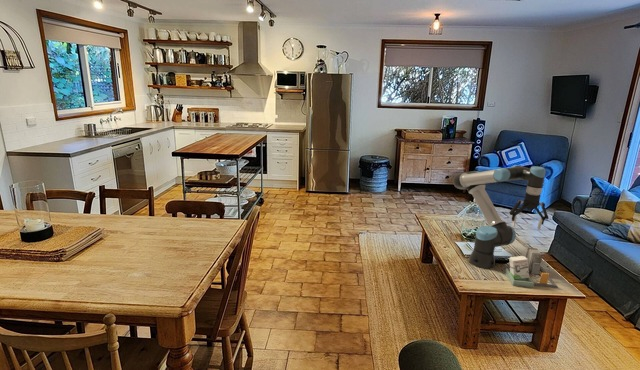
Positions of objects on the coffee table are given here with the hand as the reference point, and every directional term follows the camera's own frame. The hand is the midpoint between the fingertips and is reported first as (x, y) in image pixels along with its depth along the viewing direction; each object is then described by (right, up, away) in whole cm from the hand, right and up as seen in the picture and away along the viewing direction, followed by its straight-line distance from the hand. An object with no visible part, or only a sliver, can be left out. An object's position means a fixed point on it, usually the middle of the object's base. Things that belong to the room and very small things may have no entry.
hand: (525, 227), depth 214 cm
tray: (-6, -30, -2) cm, 31 cm away
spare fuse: (+10, -27, +11) cm, 31 cm away
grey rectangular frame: (+8, -28, +5) cm, 30 cm away
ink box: (-5, -29, -3) cm, 29 cm away
